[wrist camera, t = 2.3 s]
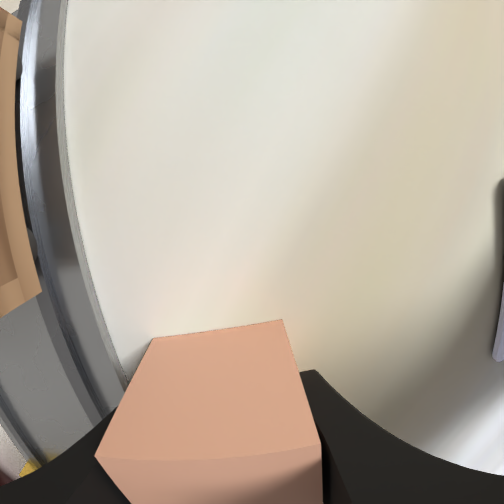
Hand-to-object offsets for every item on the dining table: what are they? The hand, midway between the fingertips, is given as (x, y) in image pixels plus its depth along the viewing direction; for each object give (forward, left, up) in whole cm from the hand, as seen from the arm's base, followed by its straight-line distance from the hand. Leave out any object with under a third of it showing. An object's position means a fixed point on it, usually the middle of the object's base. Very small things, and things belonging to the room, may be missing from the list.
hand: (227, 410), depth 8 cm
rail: (+8, -3, -1) cm, 9 cm away
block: (0, 0, -1) cm, 1 cm away
